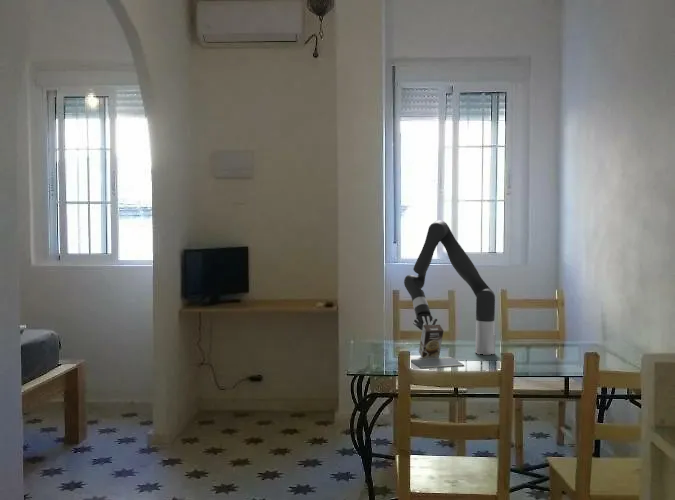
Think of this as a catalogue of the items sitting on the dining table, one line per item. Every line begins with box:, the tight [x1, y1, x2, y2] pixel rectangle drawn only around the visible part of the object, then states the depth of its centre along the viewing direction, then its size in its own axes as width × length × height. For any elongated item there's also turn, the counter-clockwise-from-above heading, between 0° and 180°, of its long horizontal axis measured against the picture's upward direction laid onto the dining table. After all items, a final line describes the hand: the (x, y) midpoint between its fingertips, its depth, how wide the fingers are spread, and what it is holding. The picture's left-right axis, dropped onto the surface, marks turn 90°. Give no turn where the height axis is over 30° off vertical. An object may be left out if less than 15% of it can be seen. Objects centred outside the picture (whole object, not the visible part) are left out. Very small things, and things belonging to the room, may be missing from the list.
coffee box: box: [418, 324, 444, 359], centre depth 383 cm, size 9×6×16 cm
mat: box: [410, 356, 465, 370], centre depth 374 cm, size 22×16×1 cm
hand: (429, 335), depth 386 cm, fingers closed
